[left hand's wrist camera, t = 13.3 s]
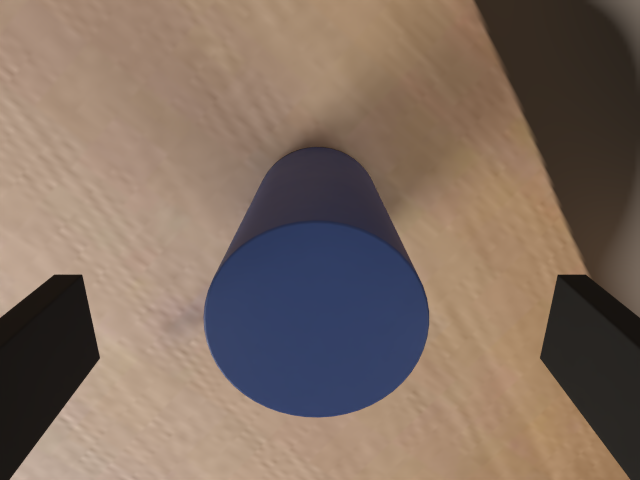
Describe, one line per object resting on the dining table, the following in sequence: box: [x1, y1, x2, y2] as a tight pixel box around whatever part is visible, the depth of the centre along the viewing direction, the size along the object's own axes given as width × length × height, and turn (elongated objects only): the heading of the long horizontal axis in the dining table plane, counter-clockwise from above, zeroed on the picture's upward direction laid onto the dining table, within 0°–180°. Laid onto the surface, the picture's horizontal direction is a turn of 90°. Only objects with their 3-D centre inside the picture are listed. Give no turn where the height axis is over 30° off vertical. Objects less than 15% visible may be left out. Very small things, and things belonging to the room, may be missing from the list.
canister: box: [204, 147, 429, 417], centre depth 18 cm, size 6×6×12 cm
